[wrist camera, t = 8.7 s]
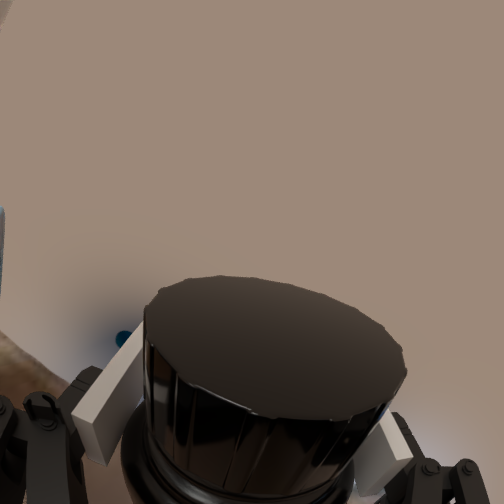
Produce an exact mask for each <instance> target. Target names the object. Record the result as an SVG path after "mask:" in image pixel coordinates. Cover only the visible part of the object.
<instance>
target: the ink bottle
mask: <svg viewBox="0 0 504 504" xmlns="http://www.w3.org/2000/svg"><path fill="white" fill-rule="evenodd" d="M406 375H407V368H405V363H404V359H403V354H402V347H401V346H400V345H399V344H398V343H397V342H396V341H395V340H394V339H393V338H392V336H391V335H390V334H389V333H388V332H387V331H386V330H385V328H384V327H383V326H382V325H381V324H379V323H377V322H375V321H374V320H372V319H371V318H369V317H368V316H366V315H365V314H363V313H362V312H360V311H359V310H358V309H356V308H354V307H351V306H349V305H347V304H344V303H342V302H340V301H337V300H335V299H333V298H331V297H329V296H327V295H325V294H322V293H317V292H314V291H310V290H307V289H304V288H300V287H297V286H294V285H291V284H286V283H280V282H274V281H269V280H263V279H259V278H254V277H250V278H247V277H231V276H222V275H219V276H213V277H203V278H188V279H185V280H184V281H181V282H179V283H176V284H174V285H171V286H168V287H163V288H161V289H160V290H159V291H158V294H157V295H156V296H155V297H154V298H153V300H152V301H151V302H150V303H149V305H146V306H145V308H144V316H143V395H144V401H143V402H142V403H141V404H140V405H139V406H138V407H137V408H136V409H135V411H134V412H133V414H132V415H131V417H130V418H129V420H128V422H127V424H126V427H125V430H124V433H123V436H122V441H121V452H120V454H121V466H122V472H123V476H124V479H125V483H126V486H127V488H128V491H129V494H130V496H131V499H132V502H133V504H346V503H347V501H348V499H349V497H350V494H351V492H352V488H353V484H354V476H355V468H354V460H353V457H354V456H355V454H356V453H357V452H358V451H359V450H360V448H361V447H362V446H363V444H364V443H365V441H366V440H367V439H368V437H369V436H370V434H371V433H372V432H373V430H374V429H375V427H376V426H377V424H378V423H379V421H380V420H381V418H382V417H383V415H384V413H385V412H386V410H387V409H388V407H389V405H390V404H391V402H392V400H393V399H394V397H395V395H396V394H397V392H398V390H399V388H400V387H401V385H402V383H403V381H404V379H405V378H406Z"/></svg>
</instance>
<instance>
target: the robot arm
mask: <svg viewBox="0 0 504 504" xmlns="http://www.w3.org/2000/svg"><path fill="white" fill-rule="evenodd" d="M12 2H13V0H0V31H1V28H2V25H3V23H4V20H5V18H6V16H7V13H8V11H9V9H10V7H11V5H12ZM4 232H5V213H4V209H3V207H2V206H0V294H1V278H2V264H3V248H4ZM142 394H143V322H142V323H141V324H140V325H139V326H138V327H137V329H136V330H135V331H134V332H133V334H132V335H131V336H130V337H129V339H128V340H127V341H126V342H125V344H124V345H123V346H122V347H121V349H120V350H119V351H118V352H117V354H116V355H115V356H114V357H113V359H112V360H111V361H110V363H109V364H108V365H107V366H106V368H105V369H104V370H102V369H99V368H97V367H94V366H90V367H88V368H87V369H85V370H83V371H81V372H80V374H79V375H78V376H77V377H76V379H75V380H74V381H73V382H72V383H71V384H70V386H68V388H67V389H66V390H65V391H64V392H63V394H62V395H61V396H60V397H59V398H58V400H57V399H56V398H55V397H54V396H53V395H51V394H50V393H46V392H34V393H31V394H29V395H28V396H27V397H25V399H24V401H23V405H24V408H25V410H26V411H22V410H19V409H16V408H14V407H13V404H12V403H11V401H10V400H9V399H8V398H7V397H5V396H2V395H0V504H22V503H23V499H24V495H25V490H26V495H27V504H88V499H87V493H86V486H85V479H84V471H83V463H82V460H81V458H82V456H83V454H84V452H86V455H87V457H88V459H90V460H92V461H94V462H97V463H99V464H101V465H104V466H106V467H107V465H108V463H109V461H110V459H111V457H112V455H113V453H114V450H115V448H116V446H117V444H118V442H119V440H120V438H121V436H122V434H123V432H124V430H125V427H126V424H127V422H128V420H129V418H130V417H131V415H132V414H133V412H134V410H135V408H136V406H137V404H138V402H139V401H140V398H141V396H142ZM353 460H354V468H355V476H354V478H355V482H356V485H357V489H358V492H359V496H360V497H365V496H370V495H376V494H377V493H378V492H379V491H381V490H382V489H383V488H384V489H385V492H386V493H385V494H384V495H383V496H382V497H381V498H380V499H379V500H377V501H376V502H375V503H374V504H379V503H380V504H450V501H451V500H452V499H453V498H454V497H455V501H456V502H455V503H454V504H490V502H489V498H488V495H487V492H486V489H485V485H484V482H483V479H482V476H481V474H480V471H479V468H478V466H477V464H476V463H475V462H474V461H472V460H470V459H462V460H460V461H459V462H458V463H457V464H456V465H455V466H454V467H444V466H441V465H440V464H439V463H438V462H437V461H436V460H434V459H431V458H425V456H424V455H423V453H422V451H421V449H420V447H419V445H418V443H417V441H416V440H415V438H414V436H413V435H412V432H411V431H410V429H408V425H407V423H406V422H405V420H404V418H402V417H401V416H400V415H399V414H398V413H397V412H390V410H389V408H388V409H387V410H386V412H385V413H384V415H383V417H382V418H381V420H380V421H379V423H378V424H377V426H376V427H375V429H374V430H373V432H372V433H371V434H370V436H369V437H368V439H367V440H366V441H365V443H364V444H363V446H362V447H361V448H360V450H359V451H358V452H357V453H356V454H355V456H354V457H353Z"/></svg>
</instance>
